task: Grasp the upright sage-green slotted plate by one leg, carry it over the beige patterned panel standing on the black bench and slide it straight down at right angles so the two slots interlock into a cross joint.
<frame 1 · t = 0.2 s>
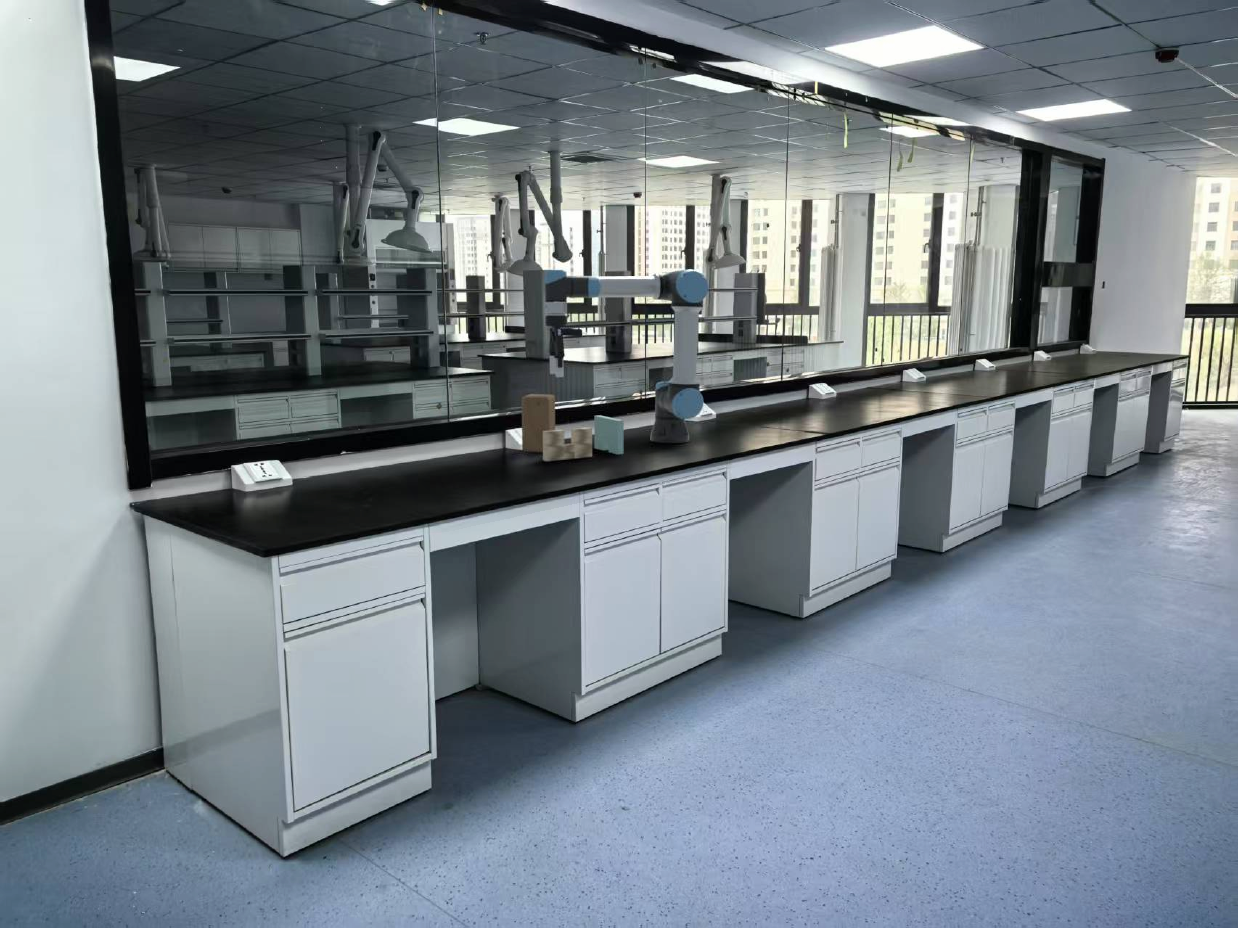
hand: (556, 375, 315), 27 cm above the table, fingers open, 13 cm apart
wooden block: (538, 450, 322), on the table
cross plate: (608, 450, 322), on the table
beige patterned panel: (567, 458, 306), on the table
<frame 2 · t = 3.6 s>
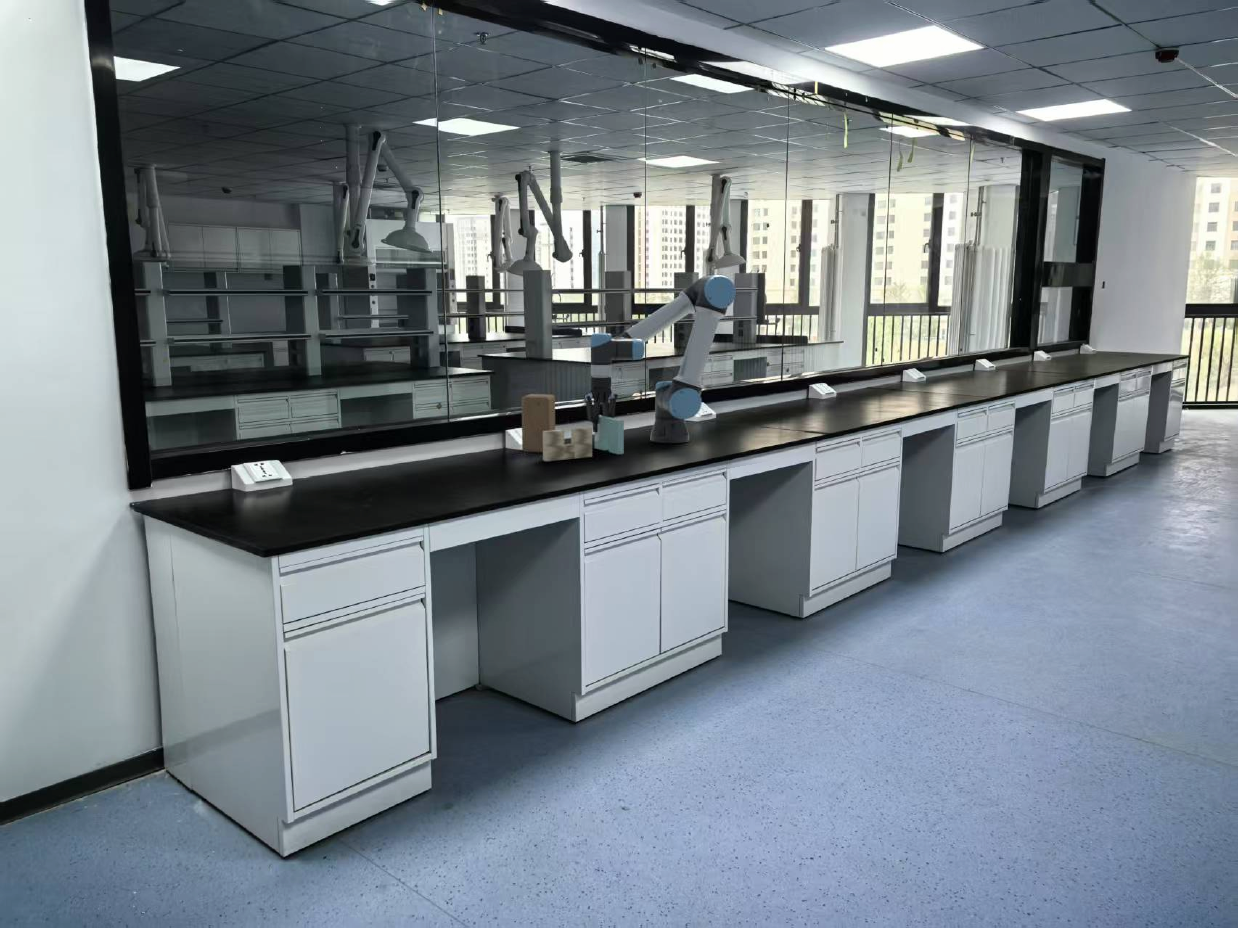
hand: (601, 440, 326), 3 cm above the table, fingers closed on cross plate, 2 cm apart
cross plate: (608, 450, 322), on the table, touching gripper
everything else where it was.
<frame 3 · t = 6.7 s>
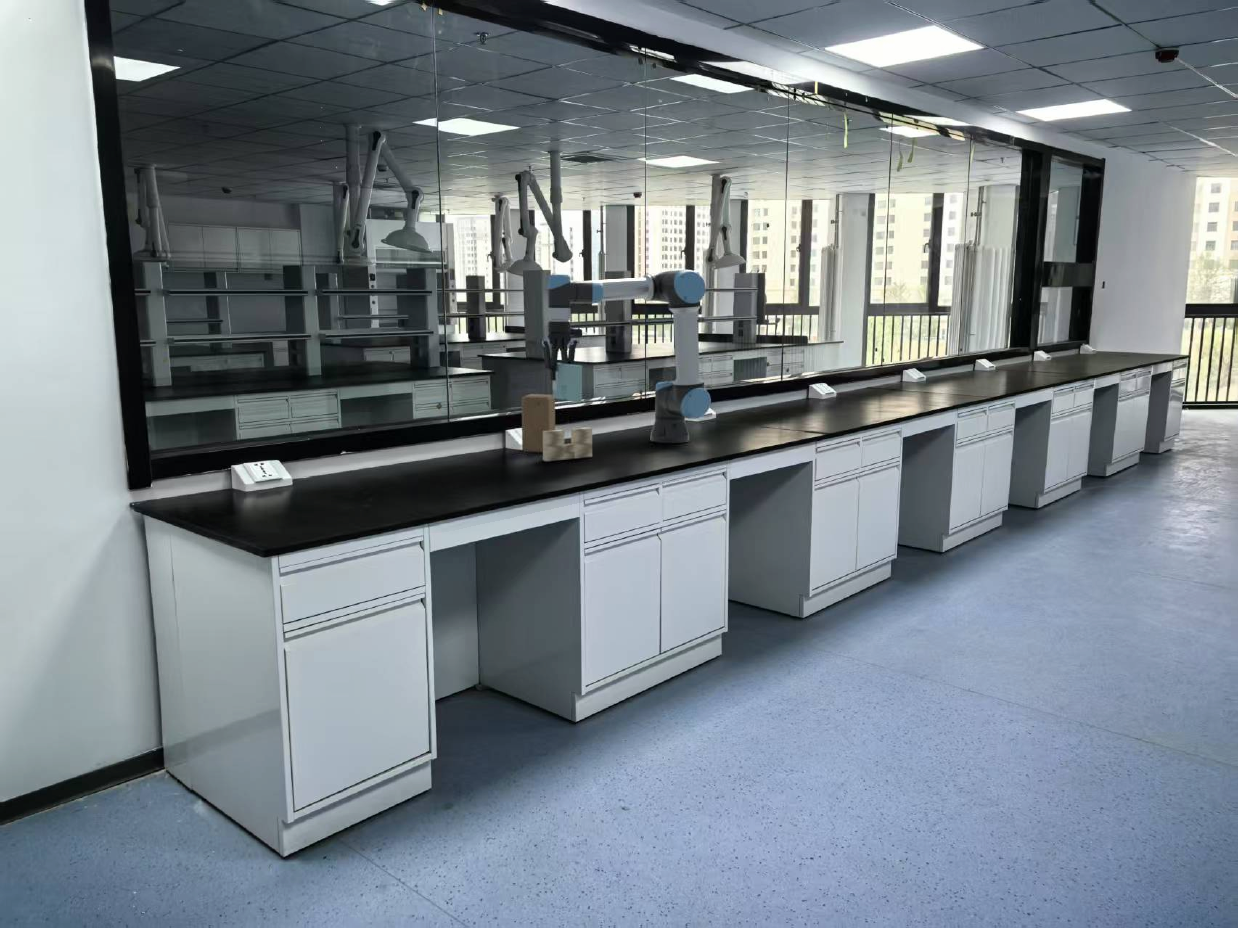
hand: (559, 389, 306), 23 cm above the table, fingers closed on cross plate, 2 cm apart
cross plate: (567, 399, 302), point 20 cm above the table, touching gripper
everything else where it was.
when the fingers open (4 cm above the table, at t = 10.2 s): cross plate stays where it is, on the table.
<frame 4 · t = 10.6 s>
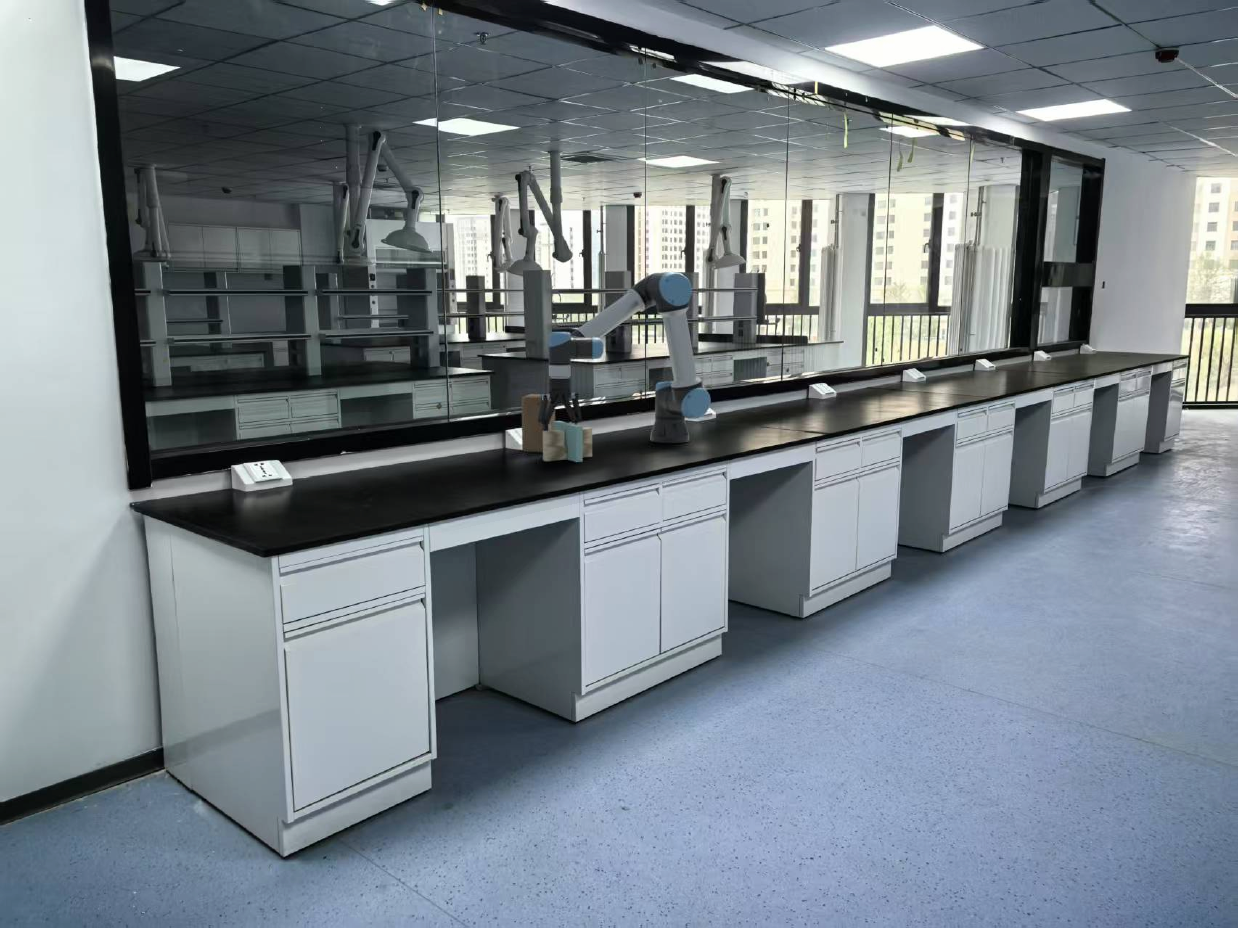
hand: (560, 442, 310), 5 cm above the table, fingers open, 9 cm apart
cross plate: (567, 458, 306), on the table
everything else where it was.
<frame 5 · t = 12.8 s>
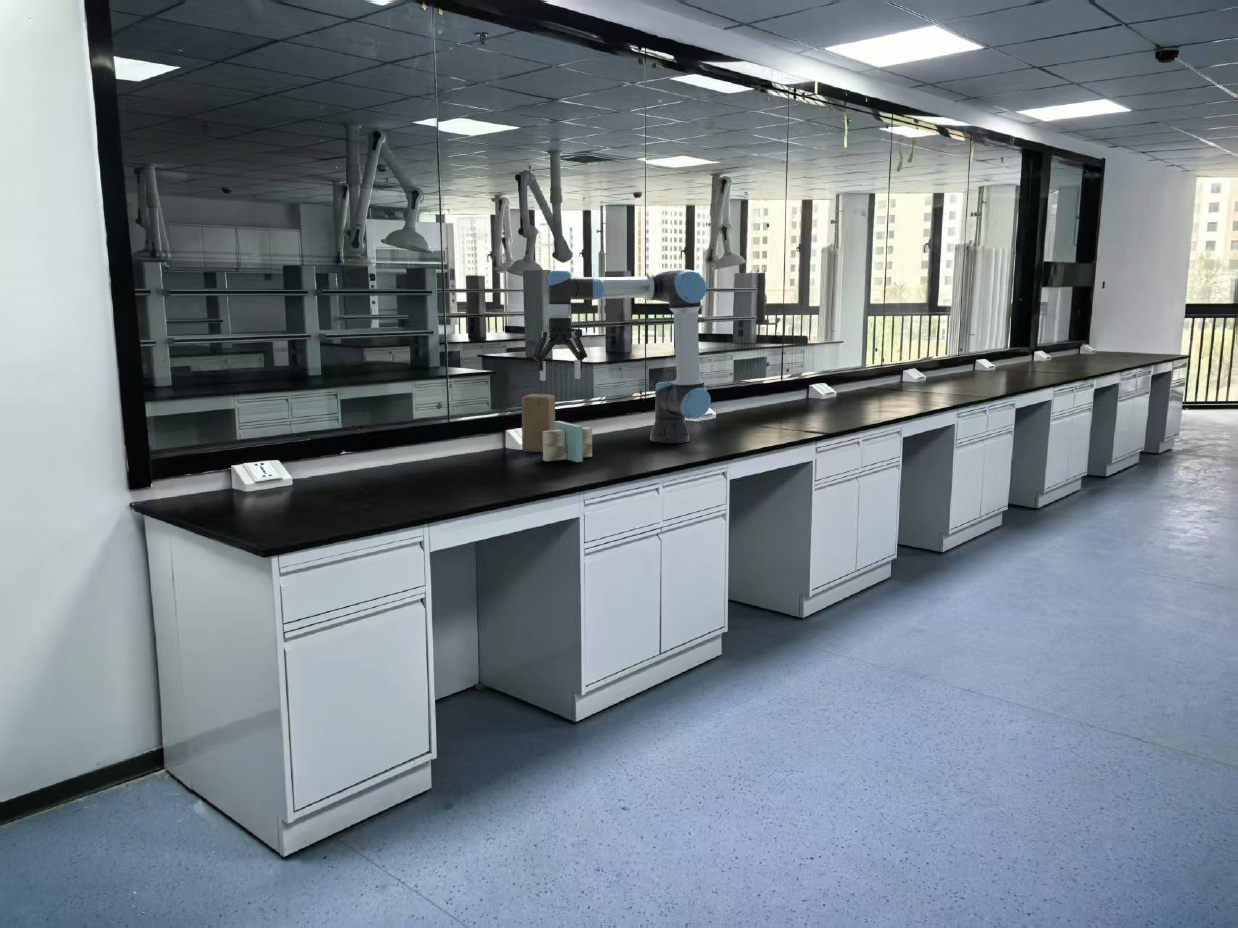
hand: (560, 379, 306), 27 cm above the table, fingers open, 13 cm apart
nothing on the table moved.
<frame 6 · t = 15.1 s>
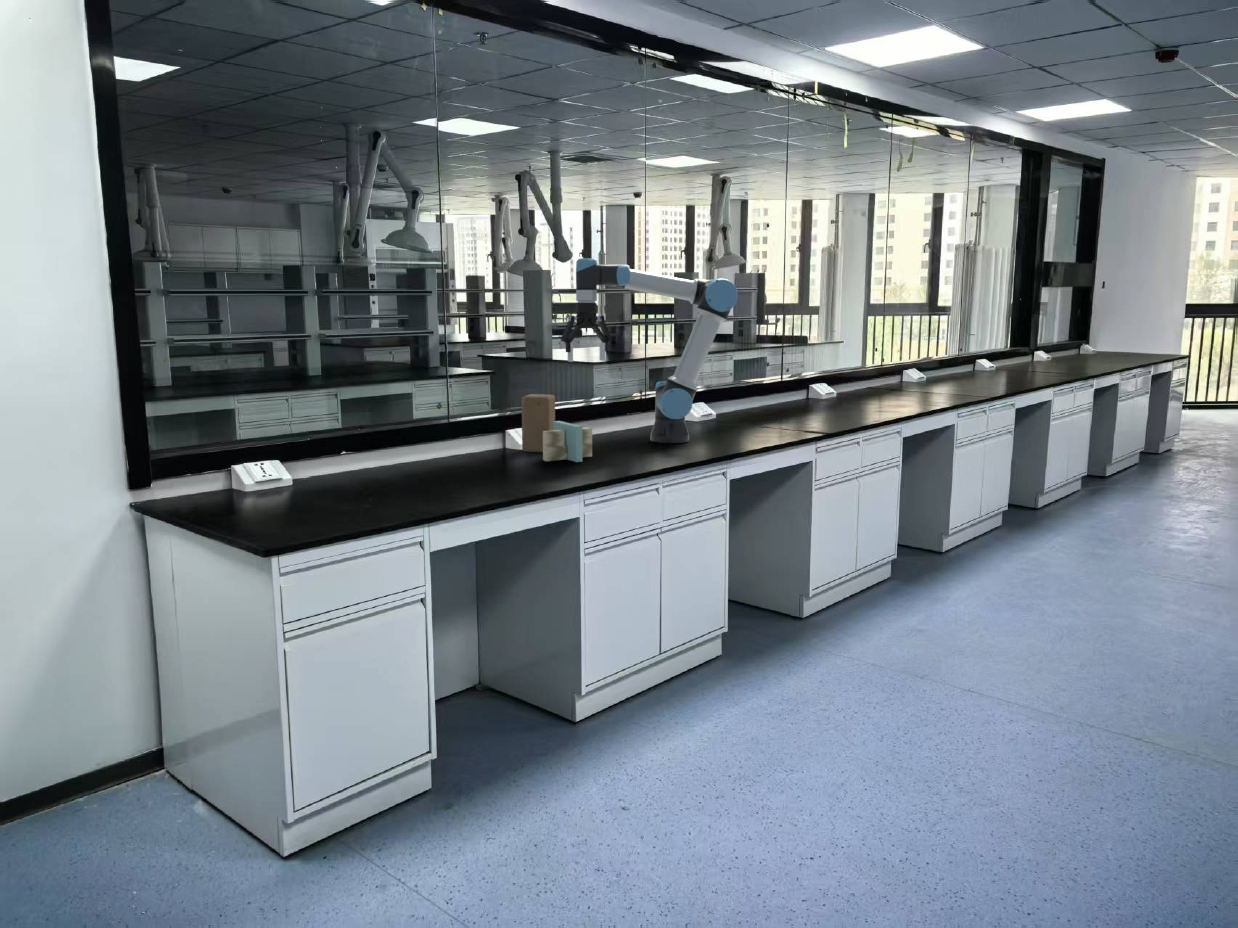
hand: (586, 361, 326), 32 cm above the table, fingers open, 13 cm apart
nothing on the table moved.
at the end: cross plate 0.2 cm off-centre on the beige patterned panel, point 0.0 cm above the beige patterned panel's base; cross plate tilted 0°; the gripper is holding nothing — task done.
